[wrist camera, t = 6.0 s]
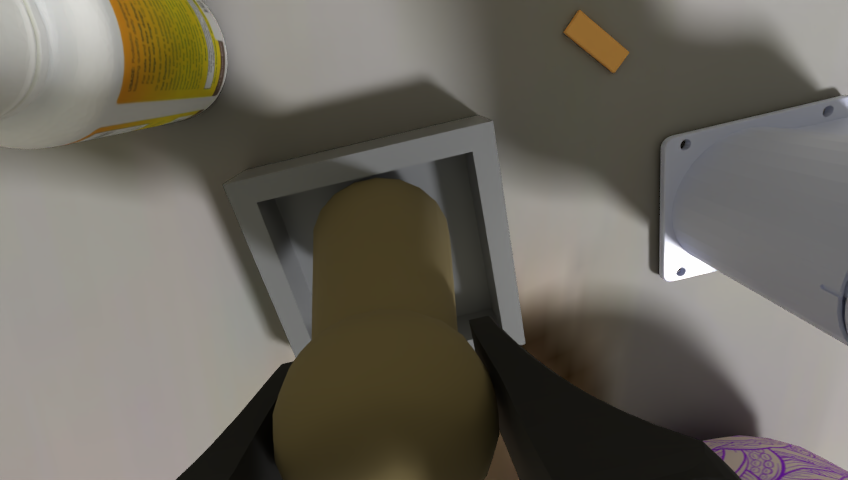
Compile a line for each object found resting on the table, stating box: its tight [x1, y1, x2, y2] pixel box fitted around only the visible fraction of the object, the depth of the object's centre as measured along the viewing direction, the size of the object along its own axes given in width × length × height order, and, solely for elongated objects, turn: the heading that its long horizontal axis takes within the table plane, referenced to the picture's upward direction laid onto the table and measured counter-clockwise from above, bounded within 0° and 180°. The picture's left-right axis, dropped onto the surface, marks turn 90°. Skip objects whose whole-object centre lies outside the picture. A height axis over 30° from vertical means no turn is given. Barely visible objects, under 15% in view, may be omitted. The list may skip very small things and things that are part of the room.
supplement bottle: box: [0, 0, 227, 149], centre depth 12 cm, size 6×6×10 cm
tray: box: [223, 115, 525, 357], centre depth 19 cm, size 11×11×3 cm
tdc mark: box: [563, 10, 629, 73], centre depth 18 cm, size 3×1×1 cm, turn 57°
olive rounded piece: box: [273, 178, 499, 480], centre depth 13 cm, size 6×6×11 cm
